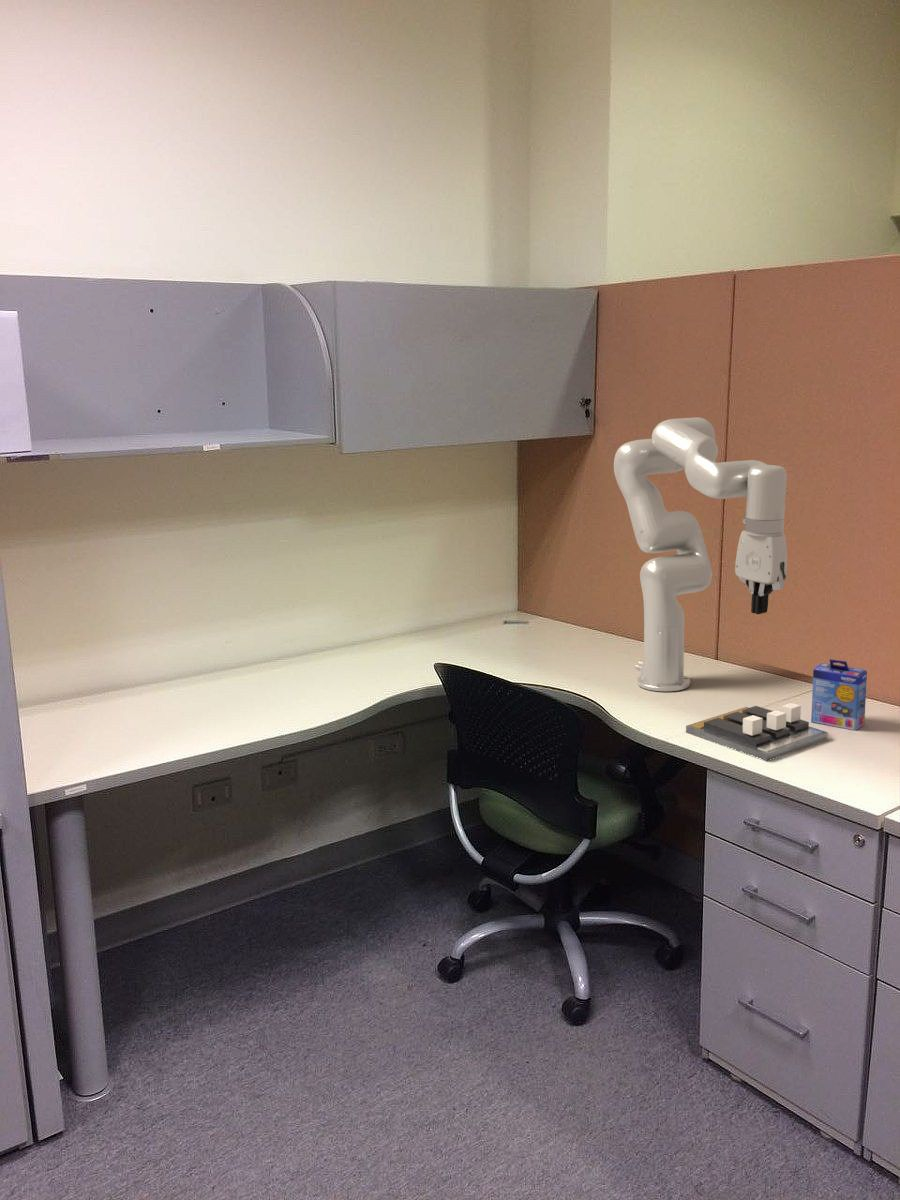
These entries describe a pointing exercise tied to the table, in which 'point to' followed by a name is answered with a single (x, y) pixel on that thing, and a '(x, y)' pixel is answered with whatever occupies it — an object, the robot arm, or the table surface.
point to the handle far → (792, 712)
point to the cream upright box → (752, 725)
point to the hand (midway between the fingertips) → (759, 612)
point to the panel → (752, 749)
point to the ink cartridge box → (839, 695)
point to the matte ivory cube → (776, 720)
